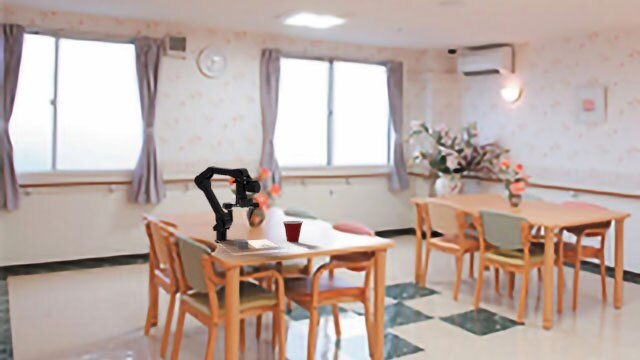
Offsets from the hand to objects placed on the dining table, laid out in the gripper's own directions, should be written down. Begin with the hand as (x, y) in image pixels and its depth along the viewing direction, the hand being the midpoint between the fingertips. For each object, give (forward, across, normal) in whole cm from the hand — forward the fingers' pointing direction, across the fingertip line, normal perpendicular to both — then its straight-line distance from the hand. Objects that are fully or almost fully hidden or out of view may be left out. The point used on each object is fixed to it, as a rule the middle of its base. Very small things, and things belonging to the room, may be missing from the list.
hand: (240, 221), depth 308 cm
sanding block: (+12, -3, -11) cm, 17 cm away
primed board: (+12, +9, -8) cm, 17 cm away
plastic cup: (+12, +27, -6) cm, 30 cm away
